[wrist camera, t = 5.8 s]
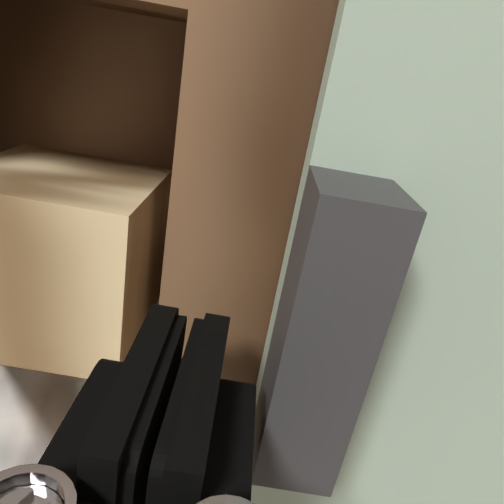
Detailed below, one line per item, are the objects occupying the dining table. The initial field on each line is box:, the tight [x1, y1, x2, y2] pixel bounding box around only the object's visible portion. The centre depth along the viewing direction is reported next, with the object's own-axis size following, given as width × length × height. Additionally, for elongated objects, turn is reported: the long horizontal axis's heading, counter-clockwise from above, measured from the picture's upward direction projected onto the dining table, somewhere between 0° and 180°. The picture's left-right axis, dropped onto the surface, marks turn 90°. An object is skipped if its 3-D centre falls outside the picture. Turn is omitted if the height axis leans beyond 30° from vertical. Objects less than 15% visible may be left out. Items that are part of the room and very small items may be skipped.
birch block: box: [0, 144, 172, 379], centre depth 14 cm, size 5×5×5 cm
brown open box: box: [0, 0, 339, 384], centre depth 14 cm, size 16×15×6 cm
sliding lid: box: [251, 0, 504, 504], centre depth 9 cm, size 8×14×3 cm, turn 170°
